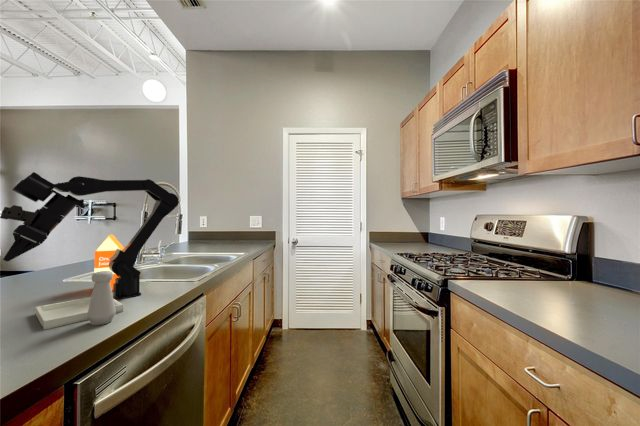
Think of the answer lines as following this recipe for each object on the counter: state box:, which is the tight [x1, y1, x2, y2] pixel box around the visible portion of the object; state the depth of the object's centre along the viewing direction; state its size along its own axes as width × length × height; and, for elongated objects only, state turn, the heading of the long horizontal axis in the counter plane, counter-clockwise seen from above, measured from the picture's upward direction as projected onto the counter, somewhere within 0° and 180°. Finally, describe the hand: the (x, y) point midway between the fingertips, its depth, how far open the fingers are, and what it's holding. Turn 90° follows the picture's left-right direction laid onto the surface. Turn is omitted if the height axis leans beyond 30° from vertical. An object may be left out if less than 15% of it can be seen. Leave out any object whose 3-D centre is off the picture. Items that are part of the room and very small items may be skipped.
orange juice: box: [93, 234, 125, 290], centre depth 103 cm, size 8×9×20 cm
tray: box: [35, 296, 124, 330], centre depth 77 cm, size 16×16×2 cm
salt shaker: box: [87, 271, 117, 326], centre depth 71 cm, size 6×6×13 cm
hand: (7, 258), depth 75 cm, fingers open, 9 cm apart
